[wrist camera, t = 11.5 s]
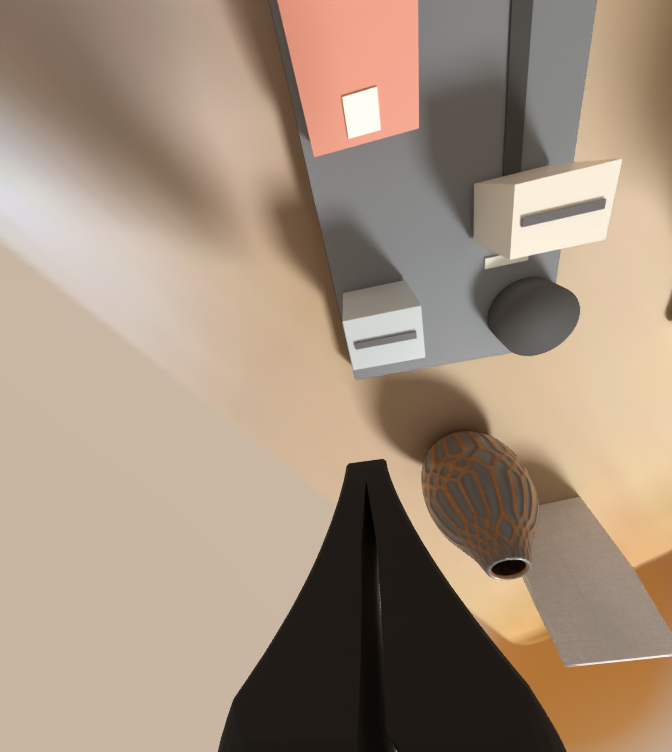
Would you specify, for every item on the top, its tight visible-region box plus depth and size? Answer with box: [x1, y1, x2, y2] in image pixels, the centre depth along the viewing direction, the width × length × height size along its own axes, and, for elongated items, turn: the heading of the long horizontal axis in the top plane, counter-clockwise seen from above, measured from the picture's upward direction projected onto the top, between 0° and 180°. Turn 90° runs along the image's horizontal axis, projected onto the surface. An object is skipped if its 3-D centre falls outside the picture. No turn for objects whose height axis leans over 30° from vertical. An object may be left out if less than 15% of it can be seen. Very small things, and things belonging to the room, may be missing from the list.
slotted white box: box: [343, 280, 425, 370], centre depth 15 cm, size 3×2×4 cm
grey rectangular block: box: [522, 496, 672, 667], centre depth 24 cm, size 4×7×10 cm, turn 113°
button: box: [488, 277, 580, 356], centre depth 16 cm, size 4×4×2 cm
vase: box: [421, 431, 539, 580], centre depth 21 cm, size 7×7×9 cm
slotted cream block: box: [474, 159, 622, 260], centre depth 12 cm, size 3×2×4 cm
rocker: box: [277, 0, 419, 157], centre depth 9 cm, size 4×7×2 cm, turn 13°
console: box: [269, 0, 597, 380], centre depth 14 cm, size 11×20×2 cm, turn 13°
